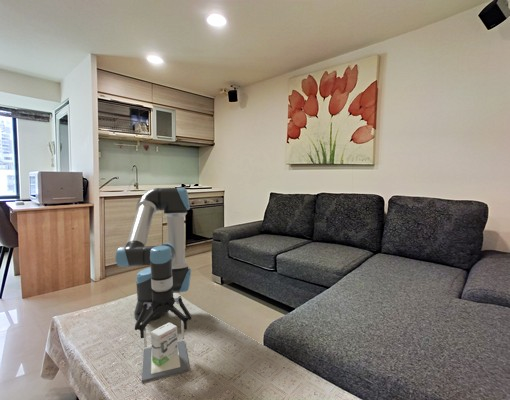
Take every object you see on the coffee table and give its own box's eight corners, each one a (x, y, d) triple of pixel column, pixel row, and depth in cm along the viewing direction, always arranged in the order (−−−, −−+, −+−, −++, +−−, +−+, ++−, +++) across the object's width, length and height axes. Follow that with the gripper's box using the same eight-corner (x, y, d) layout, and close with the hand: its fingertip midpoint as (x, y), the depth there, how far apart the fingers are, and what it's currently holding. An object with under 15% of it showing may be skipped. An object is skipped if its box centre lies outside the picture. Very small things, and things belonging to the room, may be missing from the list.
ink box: (159, 366, 99) (158, 336, 98) (151, 361, 102) (150, 331, 101) (178, 354, 106) (177, 325, 105) (170, 349, 109) (169, 321, 108)
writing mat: (143, 350, 110) (143, 348, 109) (184, 342, 115) (184, 339, 115) (141, 382, 93) (141, 379, 93) (189, 370, 98) (189, 368, 98)
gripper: (124, 297, 93) (128, 355, 96) (197, 286, 102) (199, 339, 104) (126, 288, 100) (129, 342, 103) (194, 279, 109) (196, 329, 111)
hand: (164, 341), depth 103 cm, fingers open, 13 cm apart
